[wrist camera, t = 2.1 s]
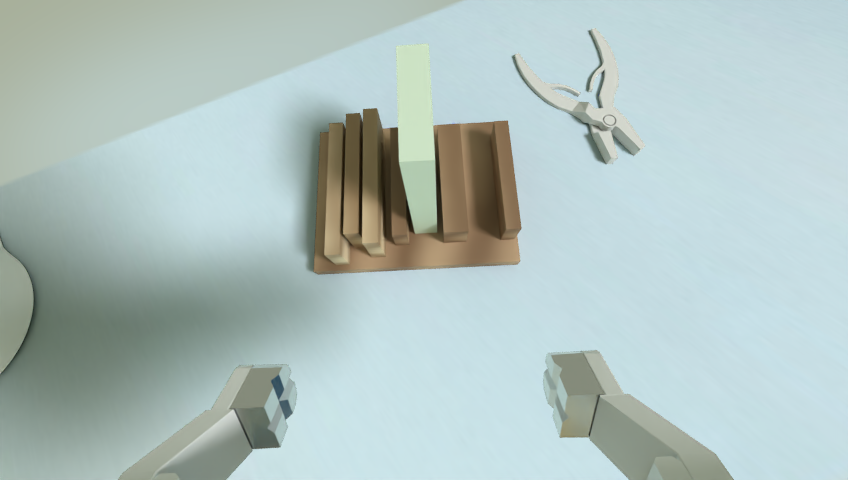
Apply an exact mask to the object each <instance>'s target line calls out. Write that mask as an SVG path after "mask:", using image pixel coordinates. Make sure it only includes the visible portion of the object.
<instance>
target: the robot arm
mask: <svg viewBox="0 0 848 480" xmlns="http://www.w3.org/2000/svg"><path fill="white" fill-rule="evenodd" d="M33 299H34V297H33V287H32V283H31V280H30V277H29V275H28V273H27V271H26V269H25V268H24V266H23V265H22V264H21V263H20V261H18V260H17V259H16V258H15V257H14V256H12V255H11V254H10V253H8V252H7V251H6V250H5V249H4V247H3V245H2V242H1V239H0V374H1V372H2V371H3V370H4V369H5V368H6V367H7V365H8V364H9V363H10V361H11V360H12V359H13V357H14V356H15V354H16V353H17V351H18V349H19V348H20V346H21V344H22V342H23V340H24V338H25V335H26V333H27V330H28V328H29V324H30V321H31V317H32V311H33ZM545 362H546V365H547V368H548V369H547V370H546V371H545V372H544V377H543V384H544V392H545V396H546V399H547V402H548V404H549V405H550V406H551V407H553V408H554V411H553V420H554V422H555V425H556V428H557V431H558V434H559V437H560V438H562V437H589V439H590V440H591V441H592V442H593V443H594V444H595V445H596V446H597V447H598V448H599V449H600V450H601V451H602V452H603V453H604V454H605V455H606V456H607V458H608V459H609V460H610V461H611V462H612V463H613V464H614V465H615V466H616V467H617V468H618V469H619V470H620V471H621V472H622V473H623V474H624V475H625V476H626V477H627V478H628V479H629V480H734V479H733V478H732V477H731V475H730V474H729V472H728V471H727V469H726V468H725V467H724V465H723V464H722V462H721V461H720V460H719V458H718V457H717V455H716V454H715V453H713V452H712V451H711V450H709V449H708V448H706V447H705V446H703V445H702V444H701V443H699V442H698V441H696V440H695V439H693V438H692V437H690V436H689V435H688V434H686V433H685V432H683V431H682V430H680V429H679V428H677V427H676V426H675V425H673V424H672V423H670V422H669V421H667V420H666V419H665V418H663V417H662V416H660V415H659V414H657V413H656V412H654V411H653V410H652V409H650V408H649V407H647V406H646V405H644V404H643V403H642V402H640V401H639V400H637V399H636V398H634V397H633V396H631V395H630V394H624V393H623V391H622V389H621V388H620V386H619V384H618V382H617V381H616V379H615V377H614V376H613V374H612V372H611V370H610V369H609V367H608V365H607V364H606V362H605V360H604V358H603V357H602V355H601V353H600V352H599V351H597V350H594V351H573V352H554V353H548V354H547V355H546V361H545ZM290 374H291V370H290V368H289V365H286V364H269V365H239V366H238V367H237V368H236V369H235V370H234V372H233V373H232V375H231V377H230V378H229V380H228V382H227V383H226V385H225V387H224V388H223V390H222V392H221V394H220V395H219V397H218V399H217V400H216V402H215V404H214V405H213V407H212V409H211V410H206V411H204V412H203V413H202V414H200V415H199V416H198V417H196V418H195V419H194V420H192V421H191V422H190V423H189V424H187V425H186V426H185V427H183V428H182V429H181V430H179V431H178V432H177V433H175V434H174V435H173V436H171V437H170V438H169V439H167V440H166V441H165V442H163V443H162V444H161V445H159V446H158V447H157V448H155V449H154V450H153V451H151V452H150V453H149V454H147V455H146V456H145V457H143V458H142V459H141V460H139V461H138V462H137V463H135V464H134V465H133V466H131V467H130V468H129V469H127V470H126V471H125V472H123V473H122V475H121V476H120V477H119V479H118V480H226V479H227V478H228V477H229V476H230V475H231V474H232V473H233V472H234V471H235V469H236V468H237V467H238V466H239V465H240V464H241V463H242V462H243V461H244V460H245V459H246V457H247V456H248V455H249V454H250V453H251V452H252V449H262V448H278V447H281V444H282V442H283V439H284V436H285V433H286V431H287V428H288V425H287V423H286V419H287V418H288V417H289V416H290V415H291V414H293V411H294V408H295V405H296V398H297V391H296V386H295V382H293V381H292V380H291V379H289V377H290Z"/></svg>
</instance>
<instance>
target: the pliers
mask: <svg viewBox="0 0 848 480" xmlns="http://www.w3.org/2000/svg"><path fill="white" fill-rule="evenodd" d="M590 33H591V35H592V37H593V39H594V41H595V43H596V46H597V48H598V50H599V53H600V57H601V60H602V66H601V67H600V68H599V69H598V70H597V71H596V72H595V73H594V75H593V77H592V78H591V81H590V84H589V92H592V90H593V83H594V80H595V78H596V77H597V75H599V74H600V73H602V72H604V80H603V84H602V87H601V91H600V94H599V97H598V98H599V102H600V105H601V108H596V109H595V108H594V107H593V106H592V105H591V104H590V103H589V102H578V101H576V100H573V99H571V98H568V97H566V96H563V95H561V94H559V93H557V92H555V91H554V89H559V90H565V91H567V92H570V93H572V94H574V95H576V96H577V97H578V96H579V95H580V92H578V91H577V90H575V89H573V88H571V87H569V86H566V85H561V84H549V83H545V82H543V81H542V80H541V79H540V78H539V77H538V76H537V75H536V74H535V73H534V72H533V71H532V70H531V69H530V67H529V66H528V65H527V63H526V62H525V61H524V60H523V58H522V57H521V55H520V54H519V53H518V54H515V57H514V58H515V61H516V64H517V67H518V69H519V71H520V73H521V75H522V77H523V78H524V80H525V81H526V83H527V84H528V85H529V87H530V88H531V89H532V90H533V91H534V92H535V93H536V94H537V95H538V96H539V97H540V98H542V99H543V100H544V101H546V102H547V103H548V104H550V105H551V106H553V107H555V108H557V109H559V110H562V111H564V112H567V113H570V114H572V115H573V116H575V117H577V118H579V119H580V120H581V121H582V122H584V123H589V126H590V130H591V134H592V137H593V139H594V141H595V143H596V145H597V147H598V149H599V151H600V153H601V155H602V157H603V159H604V161H605V163H606V164H612V163H613V162H614V161H615V160H616V159H617V158H618V156H617V152H616V148H615V144H614V141H613V137H612V135H613V136H614V137H615V138H616V139H617V140H618V141H620V142H621V143H622V144H623V145H624V146H625V147H626V148H627V149H628V150H629V151H630V152H631V153H632V154H633V155H634V156H635V155H636V154H637V153H639V152H640V151H641V150H642V149H643V148H644V147H645V144H644V143H643V142H642V140H641V139H640V137H639V136H638V134H637V133H636V132H635V130H634V129H633V127H632V126H631V124H630V123H629V122H628V120H627V119H626V118H625V117H624V116H623V115H622V114H621V113H620V112H619V111H618V110H617V109H616V108H615V107H613V105H614V96H615V93H616V90H617V88H618V80H619V76H618V68H617V64H616V60H615V57H614V54H613V52H612V50H611V48H610V46H609V45H608V43H607V41H606V40H605V39H604V37H603V36H602V35H601V34H600V33H599V31H598V30H597V29H596V28H594V29H591V31H590ZM611 131H612V133H611Z"/></svg>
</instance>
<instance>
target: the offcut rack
mask: <svg viewBox="0 0 848 480" xmlns="http://www.w3.org/2000/svg"><path fill="white" fill-rule="evenodd" d="M433 131H434V148H435V172H436V206H437V233H419V234H415V232H414V227H413V223H412V218H411V214H410V209H409V205H408V200H407V196H406V191H405V187H404V182H403V178H402V174H401V169H400V165H399V143H398V128H387V129H382V125H381V121H380V118H379V114H378V110H377V108H374V109H363V121H362V118H361V115H360V113H354V114H346V129H345V126H344V124H343V123H329V132H323V133H320V148H319V169H318V191H317V212H316V234H315V255H314V272H315V273H317V274H337V273H357V272H377V271H396V270H416V269H436V268H456V267H476V266H496V265H516V264H518V263H519V262H520V255H519V247H518V239H517V234H518V233H519V231H520V230H521V222H520V214H519V206H518V198H517V190H516V182H515V174H514V166H513V158H512V150H511V142H510V134H509V126H508V121H494V122H484V123H468V124H446V125H435V126H433Z"/></svg>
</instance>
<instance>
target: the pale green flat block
mask: <svg viewBox="0 0 848 480" xmlns="http://www.w3.org/2000/svg"><path fill="white" fill-rule="evenodd" d="M396 61H397V102H398V143H399V165H400V169H401V174H402V178H403V182H404V187H405V191H406V196H407V200H408V205H409V209H410V214H411V218H412V223H413V227H414V232H415V234H419V233H437V206H436V172H435V148H434V131H433V113H432V95H431V78H430V60H429V44H416V45H401V46H396Z"/></svg>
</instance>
